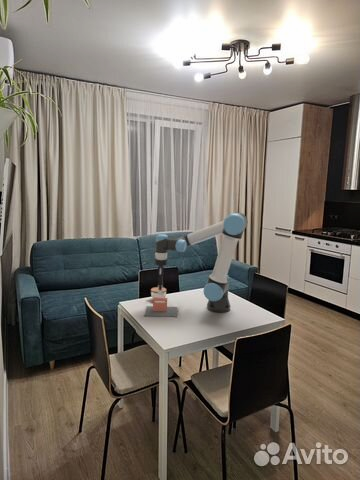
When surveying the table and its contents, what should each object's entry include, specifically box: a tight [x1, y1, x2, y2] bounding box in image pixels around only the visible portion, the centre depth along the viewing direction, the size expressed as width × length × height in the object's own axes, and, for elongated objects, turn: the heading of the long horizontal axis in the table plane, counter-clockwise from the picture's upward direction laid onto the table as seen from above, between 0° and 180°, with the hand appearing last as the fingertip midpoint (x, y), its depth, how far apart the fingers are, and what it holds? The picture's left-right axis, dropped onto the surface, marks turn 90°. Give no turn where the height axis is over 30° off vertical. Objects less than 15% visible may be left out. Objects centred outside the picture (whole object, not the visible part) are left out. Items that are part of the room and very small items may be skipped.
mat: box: [143, 305, 178, 318], centre depth 204 cm, size 20×16×1 cm
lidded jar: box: [150, 286, 167, 299], centre depth 225 cm, size 11×11×9 cm
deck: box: [152, 297, 168, 311], centre depth 204 cm, size 2×9×8 cm, turn 91°
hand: (160, 294), depth 210 cm, fingers closed
